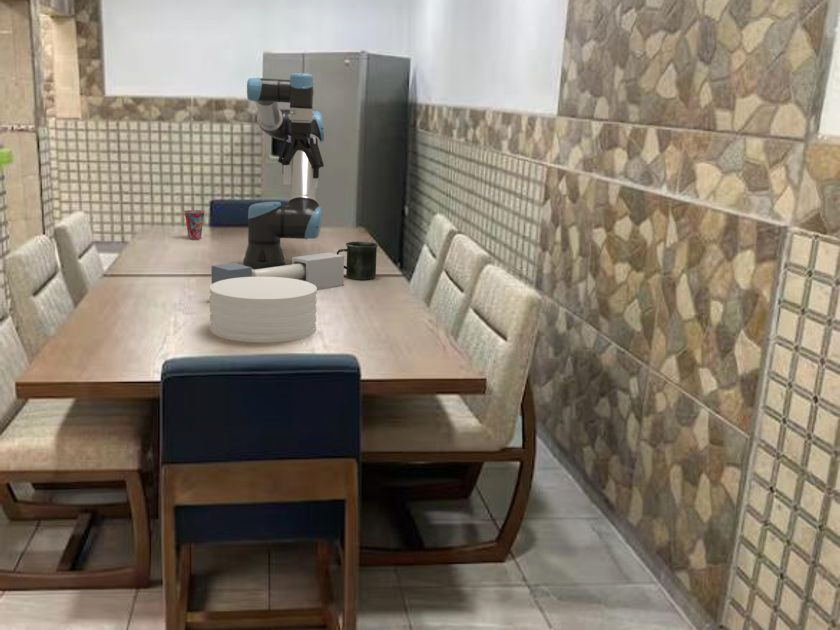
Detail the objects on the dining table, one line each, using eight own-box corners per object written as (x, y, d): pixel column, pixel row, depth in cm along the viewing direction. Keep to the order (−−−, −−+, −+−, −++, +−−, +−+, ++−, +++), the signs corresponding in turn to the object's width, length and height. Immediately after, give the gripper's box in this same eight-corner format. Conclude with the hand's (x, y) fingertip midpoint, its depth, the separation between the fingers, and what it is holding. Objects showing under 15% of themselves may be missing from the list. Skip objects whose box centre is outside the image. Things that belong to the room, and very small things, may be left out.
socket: (233, 296, 260) (233, 262, 258) (251, 301, 254) (251, 267, 252) (211, 299, 254) (211, 265, 252) (230, 305, 249) (229, 270, 246)
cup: (202, 241, 356) (201, 212, 353) (182, 240, 356) (181, 211, 353) (207, 237, 365) (207, 210, 362) (188, 236, 365) (187, 209, 362)
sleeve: (327, 281, 289) (328, 252, 286) (343, 285, 284) (344, 255, 281) (291, 287, 277) (292, 257, 274) (307, 291, 272) (308, 260, 269)
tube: (302, 277, 279) (302, 258, 277) (315, 281, 275) (316, 261, 273) (222, 290, 255) (222, 269, 253) (235, 294, 251) (235, 272, 249)
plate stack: (221, 346, 208) (220, 301, 205) (201, 318, 233) (201, 278, 230) (329, 339, 219) (330, 296, 216) (300, 313, 244) (300, 274, 241)
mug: (376, 281, 293) (377, 247, 290) (334, 279, 292) (335, 245, 289) (377, 275, 303) (378, 242, 300) (336, 273, 303) (337, 240, 300)
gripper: (267, 119, 283) (267, 183, 288) (318, 123, 267) (316, 190, 272) (285, 120, 288) (284, 182, 294) (335, 123, 273) (333, 189, 278)
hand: (300, 186), depth 283 cm, fingers open, 13 cm apart
